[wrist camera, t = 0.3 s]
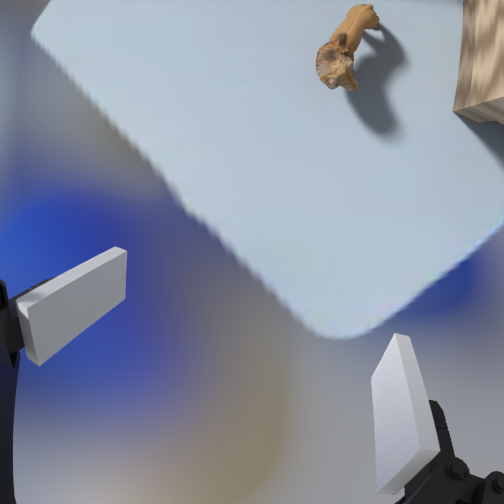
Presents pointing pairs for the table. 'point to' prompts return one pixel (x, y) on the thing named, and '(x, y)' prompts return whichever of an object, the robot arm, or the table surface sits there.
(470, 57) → the cabinet
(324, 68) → the lion figurine
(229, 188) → the table surface
